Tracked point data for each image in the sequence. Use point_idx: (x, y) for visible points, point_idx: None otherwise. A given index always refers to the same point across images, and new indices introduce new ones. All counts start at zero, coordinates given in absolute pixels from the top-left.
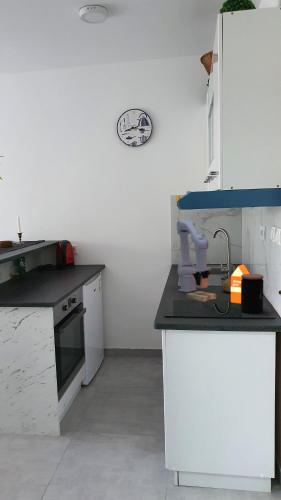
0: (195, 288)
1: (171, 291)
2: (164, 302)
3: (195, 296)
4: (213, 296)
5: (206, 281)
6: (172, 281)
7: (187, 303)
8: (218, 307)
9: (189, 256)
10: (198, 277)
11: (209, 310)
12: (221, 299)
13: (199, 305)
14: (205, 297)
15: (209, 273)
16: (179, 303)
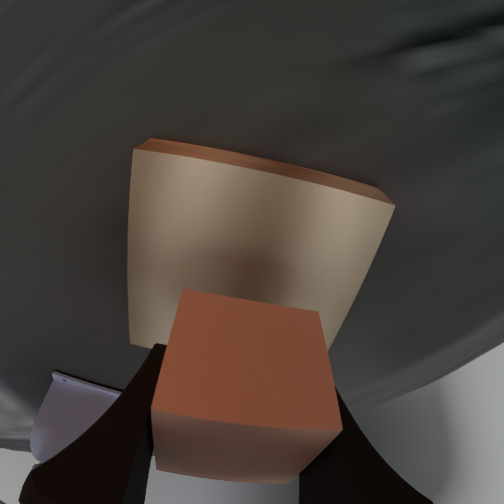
0: (54, 383)
1: None
2: (451, 371)
3: (354, 291)
4: (196, 152)
5: (195, 365)
6: None
7: (461, 269)
8: (489, 6)
9: None
10: (386, 475)
11: None
12: (172, 63)
13: (495, 166)
14: (351, 190)
15: (55, 476)
16: (466, 308)
